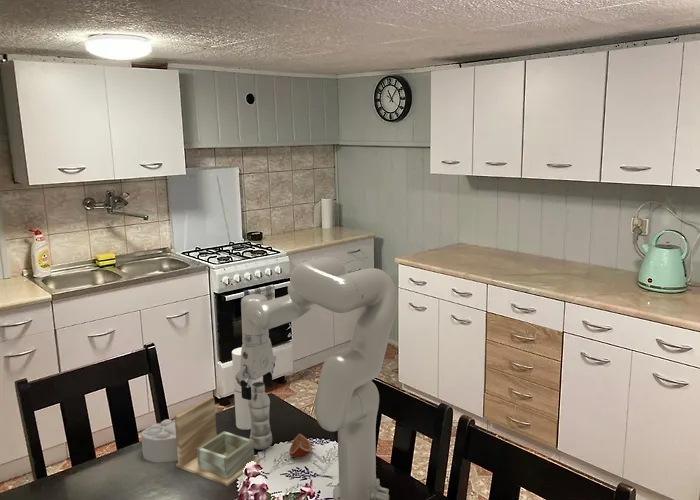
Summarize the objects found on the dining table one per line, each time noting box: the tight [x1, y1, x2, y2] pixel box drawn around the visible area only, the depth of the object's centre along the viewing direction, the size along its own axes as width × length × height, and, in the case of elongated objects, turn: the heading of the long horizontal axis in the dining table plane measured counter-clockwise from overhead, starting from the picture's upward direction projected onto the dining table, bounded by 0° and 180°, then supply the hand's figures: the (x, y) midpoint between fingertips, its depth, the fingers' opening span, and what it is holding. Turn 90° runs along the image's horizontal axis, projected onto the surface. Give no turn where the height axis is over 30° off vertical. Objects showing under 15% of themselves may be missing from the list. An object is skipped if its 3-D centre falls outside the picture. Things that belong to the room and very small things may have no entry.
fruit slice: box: [288, 432, 313, 459], centre depth 167 cm, size 8×7×5 cm
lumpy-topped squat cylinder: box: [140, 418, 178, 463], centre depth 169 cm, size 10×13×9 cm
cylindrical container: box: [231, 346, 257, 430], centre depth 183 cm, size 7×7×25 cm
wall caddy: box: [173, 395, 261, 487], centre depth 162 cm, size 19×14×16 cm
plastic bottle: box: [248, 381, 273, 451], centre depth 170 cm, size 6×7×20 cm
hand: (257, 392), depth 169 cm, fingers open, 9 cm apart
